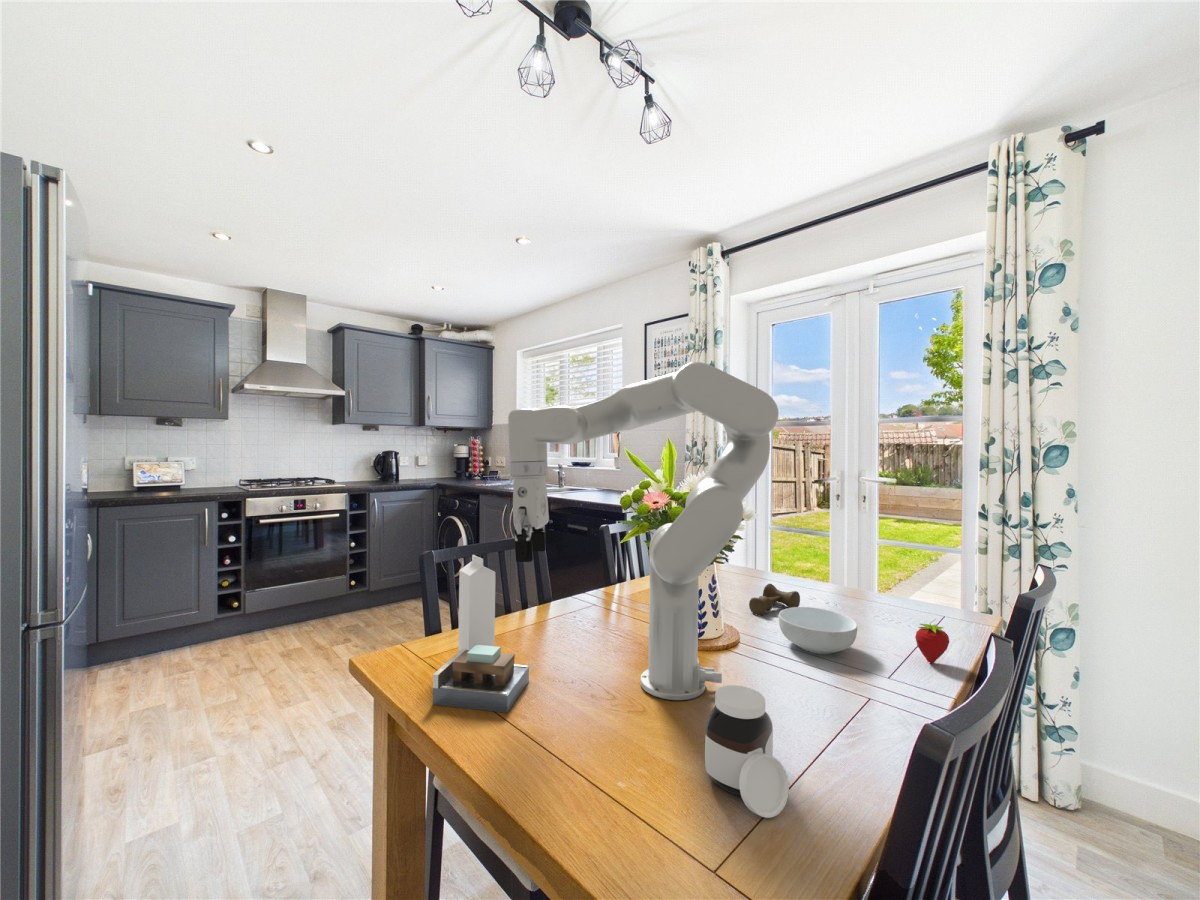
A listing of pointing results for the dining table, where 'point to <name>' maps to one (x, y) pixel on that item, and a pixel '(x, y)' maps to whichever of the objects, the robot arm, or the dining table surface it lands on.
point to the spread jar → (745, 751)
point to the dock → (477, 689)
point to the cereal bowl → (817, 629)
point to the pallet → (484, 668)
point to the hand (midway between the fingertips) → (531, 556)
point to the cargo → (483, 654)
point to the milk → (476, 605)
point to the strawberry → (932, 641)
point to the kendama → (773, 599)
